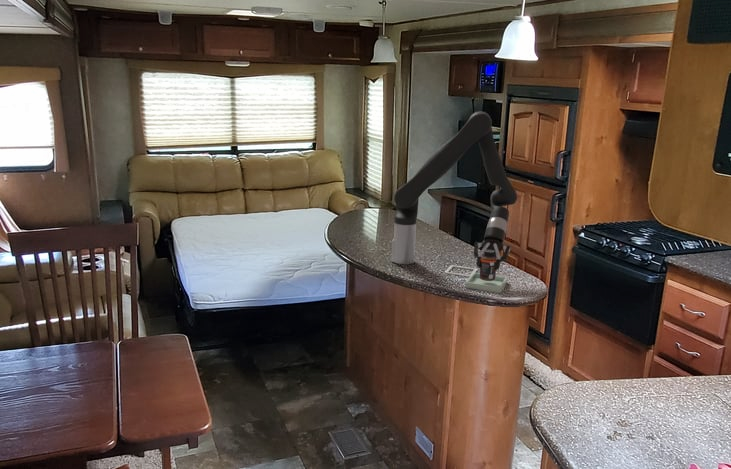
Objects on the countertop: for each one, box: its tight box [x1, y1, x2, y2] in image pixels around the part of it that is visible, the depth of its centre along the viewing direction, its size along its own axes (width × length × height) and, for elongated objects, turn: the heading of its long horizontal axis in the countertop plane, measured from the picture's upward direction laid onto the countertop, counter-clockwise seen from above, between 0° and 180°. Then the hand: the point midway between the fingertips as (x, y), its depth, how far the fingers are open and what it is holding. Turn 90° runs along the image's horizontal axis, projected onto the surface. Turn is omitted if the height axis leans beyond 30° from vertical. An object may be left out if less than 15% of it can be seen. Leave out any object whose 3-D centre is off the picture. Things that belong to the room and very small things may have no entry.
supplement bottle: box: [479, 250, 497, 281], centre depth 219 cm, size 6×6×11 cm
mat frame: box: [443, 264, 479, 278], centre depth 236 cm, size 11×11×1 cm
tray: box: [464, 271, 509, 294], centre depth 220 cm, size 14×14×2 cm
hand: (487, 268), depth 217 cm, fingers closed on supplement bottle, 6 cm apart
